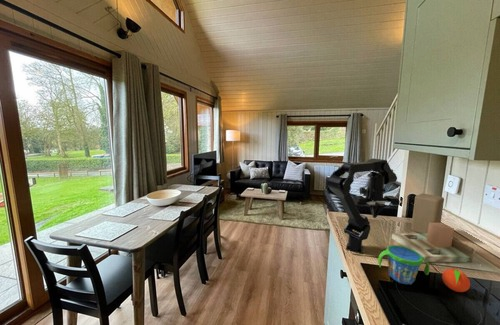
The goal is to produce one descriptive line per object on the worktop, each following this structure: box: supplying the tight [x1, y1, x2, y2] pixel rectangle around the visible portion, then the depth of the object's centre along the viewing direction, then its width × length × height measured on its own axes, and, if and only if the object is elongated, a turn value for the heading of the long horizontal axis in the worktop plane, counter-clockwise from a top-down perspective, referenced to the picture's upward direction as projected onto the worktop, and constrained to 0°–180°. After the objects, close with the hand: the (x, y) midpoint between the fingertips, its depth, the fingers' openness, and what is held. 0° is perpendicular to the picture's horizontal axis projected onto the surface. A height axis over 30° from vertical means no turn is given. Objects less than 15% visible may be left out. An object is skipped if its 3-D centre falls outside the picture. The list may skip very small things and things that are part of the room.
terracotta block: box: [427, 222, 455, 248], centre depth 97 cm, size 6×6×9 cm
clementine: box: [441, 268, 471, 293], centre depth 72 cm, size 8×7×7 cm
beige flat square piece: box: [391, 233, 475, 263], centre depth 98 cm, size 20×20×6 cm
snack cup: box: [377, 245, 431, 286], centre depth 77 cm, size 16×10×10 cm
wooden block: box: [410, 192, 445, 234], centre depth 114 cm, size 10×10×20 cm
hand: (374, 217), depth 101 cm, fingers closed
